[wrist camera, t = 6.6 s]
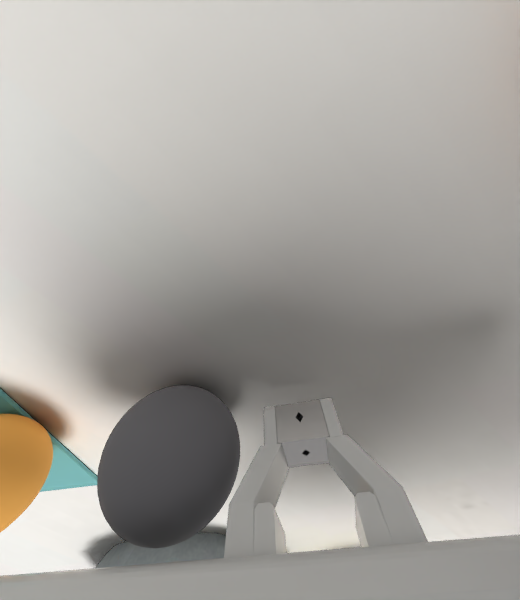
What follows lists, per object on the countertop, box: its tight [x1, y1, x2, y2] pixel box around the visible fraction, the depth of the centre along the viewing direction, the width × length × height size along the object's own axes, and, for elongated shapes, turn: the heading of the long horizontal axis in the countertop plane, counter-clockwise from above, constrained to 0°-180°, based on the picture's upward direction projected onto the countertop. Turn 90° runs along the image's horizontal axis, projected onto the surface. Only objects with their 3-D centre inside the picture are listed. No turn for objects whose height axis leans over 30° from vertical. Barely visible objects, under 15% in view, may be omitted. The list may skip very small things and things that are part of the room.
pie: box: [96, 533, 226, 568], centre depth 23 cm, size 22×22×5 cm
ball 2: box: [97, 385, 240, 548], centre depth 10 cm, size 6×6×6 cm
